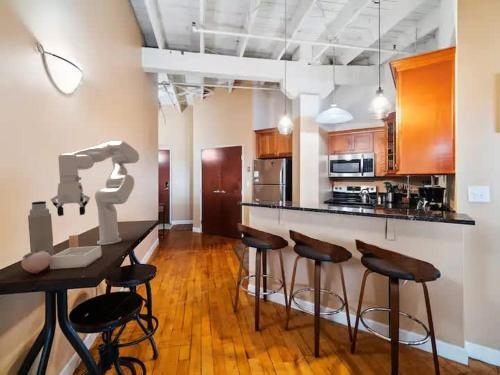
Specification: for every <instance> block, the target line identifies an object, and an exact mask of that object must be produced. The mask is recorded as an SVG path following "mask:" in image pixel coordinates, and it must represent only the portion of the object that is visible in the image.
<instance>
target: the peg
mask: <svg viewBox="0 0 500 375" xmlns="http://www.w3.org/2000/svg"><path fill="white" fill-rule="evenodd" d="M68 241H69V242H68V243H69V244H68V245H69V248H72V247H80V246H79V235H78V234H72V235H69V236H68Z"/></svg>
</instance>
